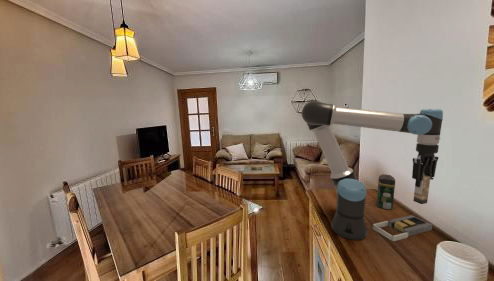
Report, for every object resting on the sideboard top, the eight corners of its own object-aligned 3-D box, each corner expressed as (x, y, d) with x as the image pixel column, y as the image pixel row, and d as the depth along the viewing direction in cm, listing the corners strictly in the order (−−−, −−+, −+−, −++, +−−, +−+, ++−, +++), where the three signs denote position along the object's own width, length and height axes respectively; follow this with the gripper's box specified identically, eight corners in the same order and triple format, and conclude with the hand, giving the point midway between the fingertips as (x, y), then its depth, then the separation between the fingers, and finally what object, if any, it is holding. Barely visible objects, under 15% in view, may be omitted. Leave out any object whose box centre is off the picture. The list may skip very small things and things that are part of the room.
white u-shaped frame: (392, 242, 86) (393, 237, 86) (372, 229, 96) (372, 224, 95) (407, 238, 89) (408, 233, 88) (386, 225, 98) (386, 221, 98)
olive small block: (410, 230, 93) (411, 224, 93) (401, 226, 97) (402, 220, 97) (415, 229, 94) (415, 223, 94) (406, 224, 98) (406, 219, 98)
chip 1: (402, 232, 92) (403, 226, 91) (394, 228, 96) (394, 222, 95) (407, 231, 93) (408, 225, 92) (398, 226, 97) (399, 221, 96)
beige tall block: (421, 204, 93) (425, 177, 91) (413, 200, 96) (416, 175, 94) (427, 203, 94) (430, 176, 92) (418, 199, 97) (421, 174, 95)
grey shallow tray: (406, 237, 89) (407, 231, 89) (387, 226, 98) (387, 220, 97) (431, 230, 94) (432, 224, 93) (411, 220, 102) (411, 215, 102)
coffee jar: (375, 201, 123) (378, 172, 120) (391, 204, 120) (394, 174, 117) (376, 208, 115) (379, 177, 112) (393, 211, 111) (396, 179, 108)
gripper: (423, 146, 85) (417, 198, 89) (450, 143, 90) (443, 193, 93) (405, 143, 92) (400, 191, 96) (430, 141, 97) (424, 187, 100)
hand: (421, 192), depth 94 cm, fingers closed on beige tall block, 4 cm apart
